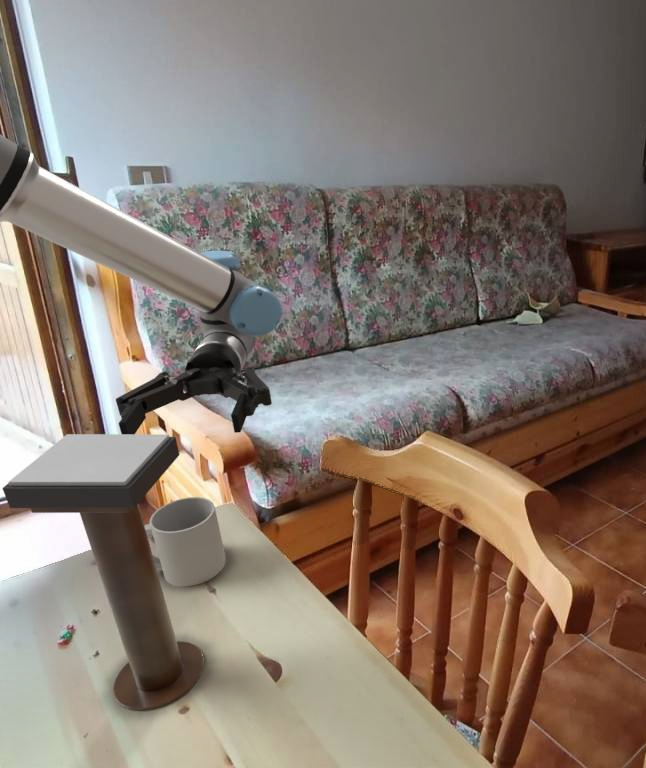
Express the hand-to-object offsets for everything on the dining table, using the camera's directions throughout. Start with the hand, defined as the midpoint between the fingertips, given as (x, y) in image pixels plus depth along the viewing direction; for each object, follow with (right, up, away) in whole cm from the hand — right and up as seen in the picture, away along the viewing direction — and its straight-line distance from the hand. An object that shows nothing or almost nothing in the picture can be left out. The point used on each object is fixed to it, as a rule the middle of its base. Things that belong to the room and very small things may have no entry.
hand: (180, 428), depth 82 cm
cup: (+2, -19, -2) cm, 19 cm away
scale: (+7, -3, -27) cm, 28 cm away
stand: (+7, -25, -16) cm, 31 cm away
